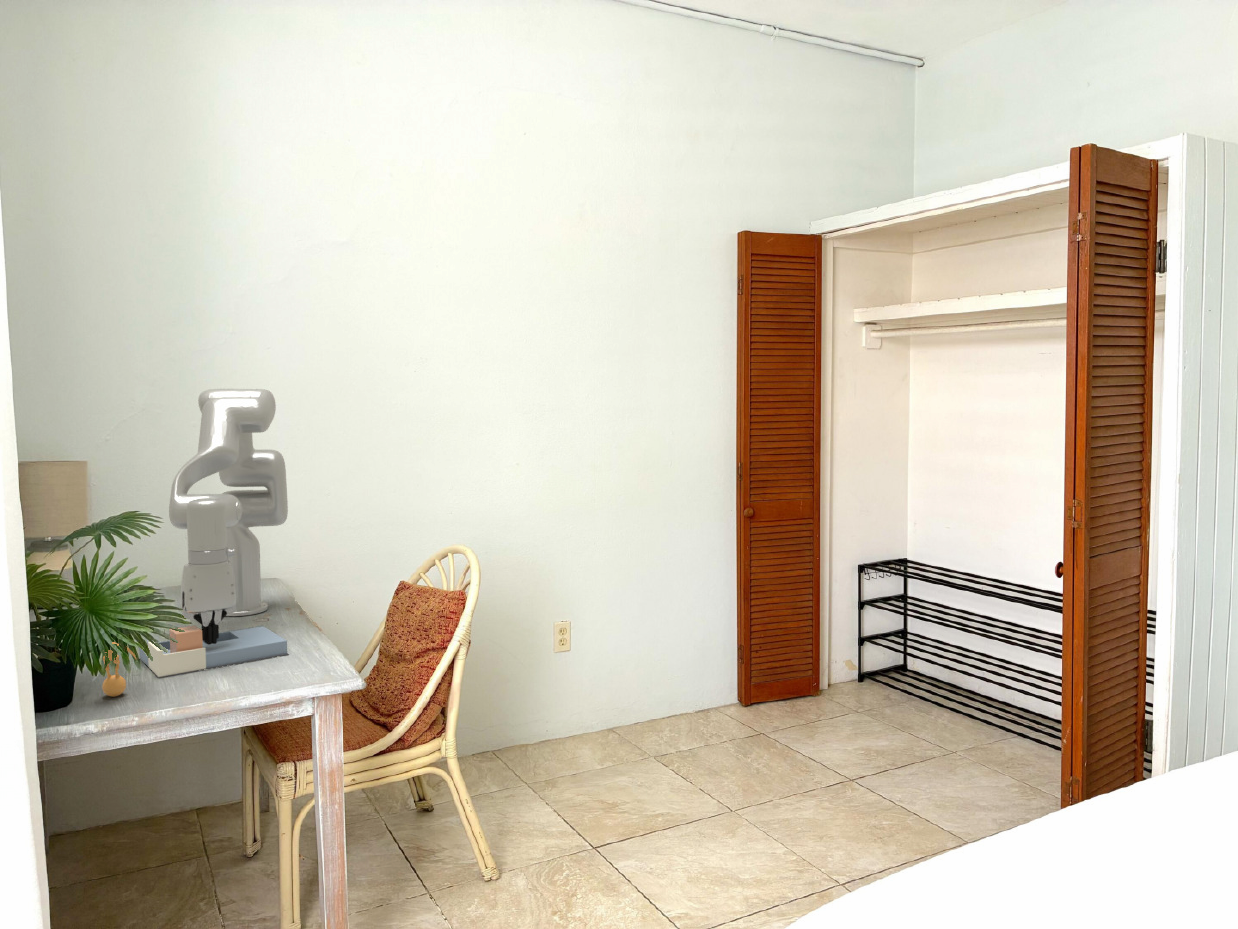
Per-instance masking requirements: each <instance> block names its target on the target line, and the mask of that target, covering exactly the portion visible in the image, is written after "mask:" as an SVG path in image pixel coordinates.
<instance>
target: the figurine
mask: <svg viewBox="0 0 1238 929" xmlns="http://www.w3.org/2000/svg"><path fill="white" fill-rule="evenodd" d="M112 644H117V646H119V644H120V643H117V642H115V641H114V642H112ZM126 647H127V646H126ZM126 651H127V652H128V653H129V654H130V655H131V656H133V657H134V659H135V660H137V657H135V656H136V654H135V653H134V652H133V651H132V650H131V649H130V648H129V647H127V650H126ZM105 653H107V652H104V654H105ZM112 653H113V651H112V650H108V658H109V660H110V661H113V660H112ZM116 655H117V657H116V660H115V658H114V661H113V662H112V663H113V664H116V666H115V668H114V671H115V674H113V675H112V674H111V672H110V666H109V665H110V664H111V662H110V663H109V664H108V665H107V666H105V671H106V676H107V677H106V678H105V680H103V682H102V685H101V688H102V691H103V693H104V694H105V695H106V696H108V697H115V698H116V697H118V696H120V695H122V694H123V693H124V692H125V690H126V689H127V681H126V679H125V678H124V677H123V676H121V675H120V674H119V670H120V663H121V661H120V655H118V654H116ZM105 656H106V655H104V656H102V661H103V664H104V665H105Z"/></svg>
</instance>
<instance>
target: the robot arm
mask: <svg viewBox="0 0 1238 929" xmlns="http://www.w3.org/2000/svg"><path fill="white" fill-rule="evenodd" d="M276 406H277V404H276V399H275V397H274V394H273V393H272V392H271V391H270V390H268V389H262V388H260V389H259V388H212V389H206V390H204V391H202V392H200V394H199V395H198V407H199V411H200V413H201V417H200V427H199V438H198V449H197V453H196V454H195V455H194V456H192V457H191V458H190V459H188V461H186V463H185V464H183V466H182V467H181V468H180V469H179V470H178V472H176V475H175V477H174V478H173V481H172V484H171V490H170V495H169V496H170V498H169V507H168V517H169V520H170V522H171V524H172V526H173V527H175V528H176V529H179V530H187V532H186V534H187V535H186V536H187V558H188V559H187V563H188V564H187V563H186V564H184V565H183V569H182V575H181V577H182V578H181V585H180V586H181V587H180V607H181V609H182V613H181V616H182V615H183V616H184V618H186V619H185V620H192V621H193V620H195V621H196V622H197V623H198V624H200V626H201V630H202V640H203V641H205V643H207V644H208V645H210V644H212V643H213V644H216V643H217V638H219V633H220V631H219V630H220V629H219V625H220V624H221V623H222V620H223V619H224V618H225V617H243V616H244V617H245V616H252V615H256V614H260V613H264V612H265V611H267V610H268V609H269V605H268V603H266V602H265V601H262V583H261V578H262V577H261V548H260V547H261V546H260V545H261V544H260V542H259V539H258V537H256V535H255V534H254V533H253V532H252V530H250V529H249V528H254V527H255V528H257V527H275V526H276V527H277V526H278V527H279V526H281V525H284V523H286V521H287V518H288V511H289V509H288V508H289V503H288V502H289V501H288V489H287V488H288V487H287V470H286V462H285V458H284V456H283V454H282V453H281V452H279V451H278V450H274V449H255V448H254V441H253V434H254V433H255V434H256V433H258V434H259V433H260V434H261V433H265V432H266V431H268V429H269V428H270V426H271V424H272V422H273V421H274V418H275V415H276V409H277V408H276ZM217 473H218V476H219V480H220V482H221V483H222V485H224V486H227V487H234V488H245V487H246V488H248V487H249V488H251V487H252V488H254V487H256V488H259V487H263V488H265V489H237V490H235V489H234V490H228V491H225V492H222V493H215V494H214V493H196V494H195V493H194V494H193V493H191V494H188V492H189V491H190V489H191V488H192V487H193V485H194V484H197V483H198V482H199V481H202V479H205V478H207V477H209V476H211V475H215V474H217ZM208 612H211V617H210V620H209V616H208ZM184 618H183V619H184Z"/></svg>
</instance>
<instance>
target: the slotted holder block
mask: <svg viewBox="0 0 1238 929" xmlns="http://www.w3.org/2000/svg"><path fill="white" fill-rule="evenodd" d="M157 642H158V643H159V644H161V645H162V646H163V647H165V648H166V649H168V652H167V653H166V652H164V651H163V650H160V649H159V648H158V647H156V646H155V645H154V644H152V643H151V642H149V641H148V640H147V644H148V648H149V650H150V653H151V656H152V657H153V661H152V662H151V660H150V658H148V656H146V654H145V653H144V651H143V650H142V649H141V648H140V647H139V646H138V648H139V658H140V659H139V660H140V661H141V662H142V663H143V662H145V664H146V665H147V666H148V667H149V668H148V667H147V666H146V665H145V664H144V665H145V666H146V667H147V668H148V669H149V670H150V669H151V670H152V671H151V670H150V671H151V672H152V673H153V674H154V675H155V676H156V677H157V678H158V679H161V678H168V677H173V676H178V675H185V674H190V673H196V672H200V671H199V670H202V671H205V670H204V669H208V670H212V669H211V668H213V669H217V668H216V667H219V668H223V667H222V666H224V667H228V666H227V665H230V666H234V665H233V664H235V665H240V664H239V663H241V664H245V663H244V662H247V663H252V662H257V661H262V660H267V659H273V658H272V657H274V658H278V657H277V656H280V657H285V656H289V655H290V654H289V653H288V640H286V639H285V638H283V637H282V636H280V635H279V634H278V633H277V634H276V632H273V631H272V630H270V629H269V628H267V627H265V626H263V625H260V626H255V627H253V626H252V627H247V628H241V629H240V628H239V629H234V630H228V631H222V632H219V638H217V643H216V644H213V643H212V644H210V645H208V644H207V643H205V641H203V640H202V643H203V648H199V649H193V650H187V651H181V652H175V653H170V640H165V641H157Z"/></svg>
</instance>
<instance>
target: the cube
mask: <svg viewBox="0 0 1238 929" xmlns="http://www.w3.org/2000/svg"><path fill="white" fill-rule="evenodd" d="M177 628H178V629H181V630H184V631H185V632H179V631H175V630H172V629H173V628H169V638H170V637H171V638H174V639H175V640H177V641H178V643H176V642H173V641H172V640H170V639H169V641H170V653H175V652H181V651H187V650H193V649H199V648H203V643H202V628H199V627H198V626H197V625H189V626H184V627H183V626H182V627H177Z"/></svg>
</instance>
